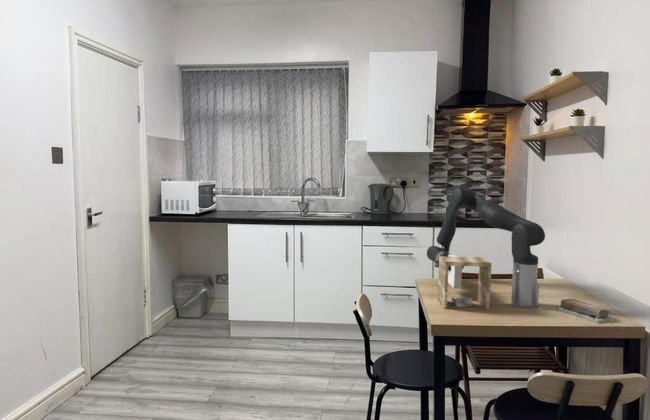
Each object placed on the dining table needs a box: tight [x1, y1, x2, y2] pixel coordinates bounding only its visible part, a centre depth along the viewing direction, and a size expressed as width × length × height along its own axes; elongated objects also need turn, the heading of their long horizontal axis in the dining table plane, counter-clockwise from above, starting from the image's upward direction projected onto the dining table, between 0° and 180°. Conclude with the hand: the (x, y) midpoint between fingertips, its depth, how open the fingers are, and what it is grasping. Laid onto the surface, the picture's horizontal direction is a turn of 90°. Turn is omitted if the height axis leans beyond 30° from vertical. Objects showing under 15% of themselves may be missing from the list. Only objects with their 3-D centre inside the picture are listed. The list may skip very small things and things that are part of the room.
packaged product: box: [556, 298, 617, 324], centre depth 181 cm, size 18×5×10 cm
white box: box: [448, 254, 463, 289], centre depth 205 cm, size 3×12×12 cm, turn 179°
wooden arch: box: [437, 256, 492, 311], centre depth 191 cm, size 18×12×18 cm
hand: (454, 268), depth 205 cm, fingers closed on white box, 3 cm apart
